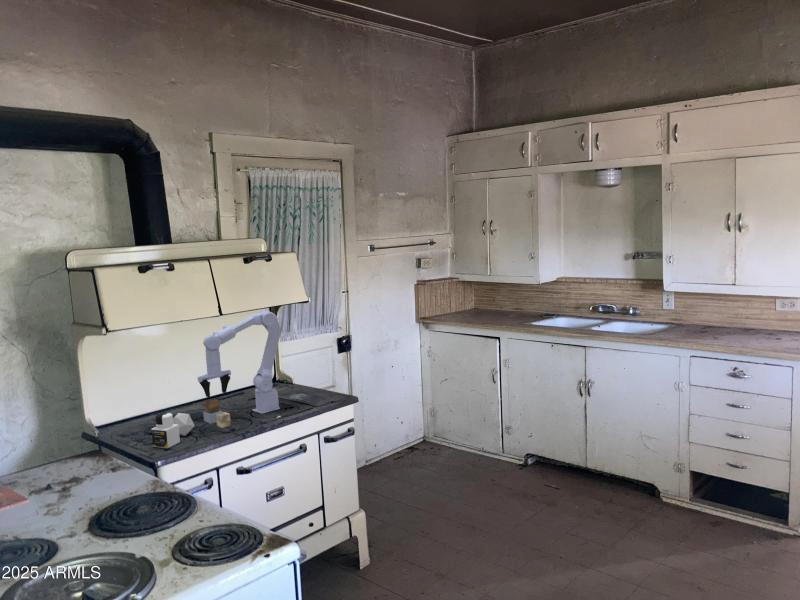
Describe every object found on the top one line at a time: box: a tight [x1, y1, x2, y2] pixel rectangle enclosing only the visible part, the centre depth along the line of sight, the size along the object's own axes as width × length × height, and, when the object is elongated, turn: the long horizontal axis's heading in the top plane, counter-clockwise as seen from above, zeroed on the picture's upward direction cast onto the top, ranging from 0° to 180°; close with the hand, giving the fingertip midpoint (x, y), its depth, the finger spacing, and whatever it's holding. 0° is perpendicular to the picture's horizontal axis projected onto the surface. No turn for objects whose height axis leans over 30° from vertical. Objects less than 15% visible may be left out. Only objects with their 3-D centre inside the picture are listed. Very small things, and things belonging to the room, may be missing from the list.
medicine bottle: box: [151, 412, 181, 449], centre depth 246 cm, size 7×7×12 cm
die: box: [173, 412, 195, 437], centre depth 258 cm, size 8×9×10 cm
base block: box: [202, 409, 224, 424], centre depth 275 cm, size 6×6×4 cm
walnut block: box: [204, 398, 220, 414], centre depth 274 cm, size 4×4×5 cm
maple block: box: [216, 411, 232, 429], centre depth 267 cm, size 4×4×5 cm
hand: (216, 394), depth 276 cm, fingers open, 7 cm apart
